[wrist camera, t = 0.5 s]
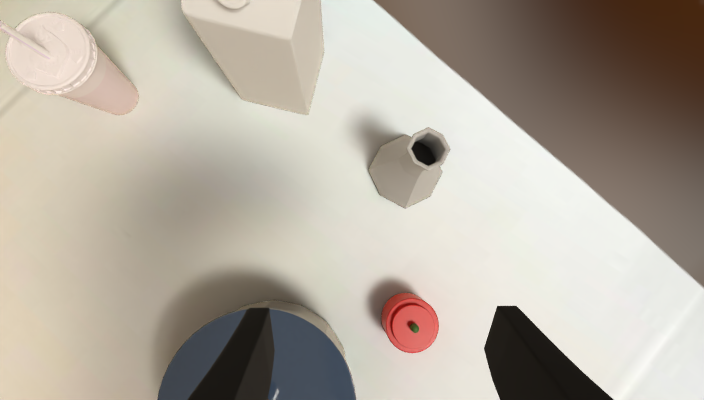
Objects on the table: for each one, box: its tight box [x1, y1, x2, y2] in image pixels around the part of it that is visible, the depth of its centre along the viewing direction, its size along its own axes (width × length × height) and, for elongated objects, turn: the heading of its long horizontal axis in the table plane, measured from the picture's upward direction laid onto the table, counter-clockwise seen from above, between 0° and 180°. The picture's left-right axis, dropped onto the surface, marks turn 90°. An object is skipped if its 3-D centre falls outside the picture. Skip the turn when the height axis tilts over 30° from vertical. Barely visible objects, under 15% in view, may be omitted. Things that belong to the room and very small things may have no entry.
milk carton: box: [181, 0, 324, 115], centre depth 30 cm, size 7×7×19 cm
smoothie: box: [0, 12, 139, 115], centre depth 31 cm, size 6×6×14 cm
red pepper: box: [381, 293, 439, 353], centre depth 34 cm, size 5×5×5 cm
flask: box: [368, 127, 450, 208], centre depth 33 cm, size 7×7×10 cm
